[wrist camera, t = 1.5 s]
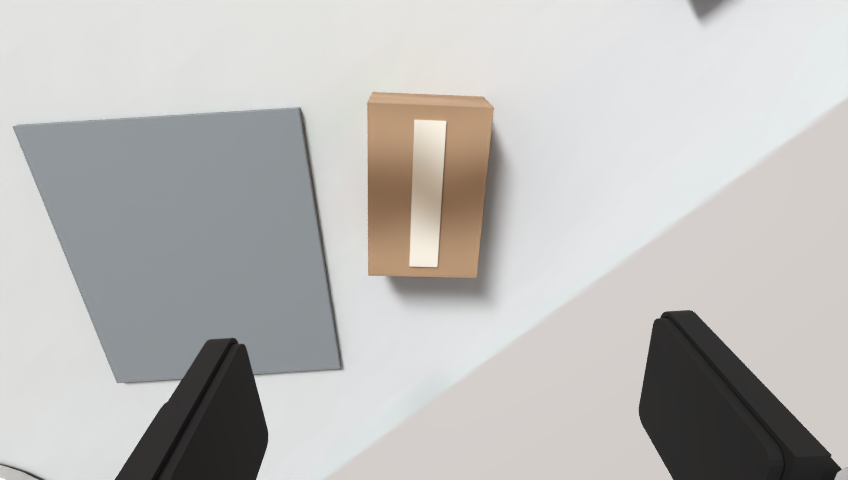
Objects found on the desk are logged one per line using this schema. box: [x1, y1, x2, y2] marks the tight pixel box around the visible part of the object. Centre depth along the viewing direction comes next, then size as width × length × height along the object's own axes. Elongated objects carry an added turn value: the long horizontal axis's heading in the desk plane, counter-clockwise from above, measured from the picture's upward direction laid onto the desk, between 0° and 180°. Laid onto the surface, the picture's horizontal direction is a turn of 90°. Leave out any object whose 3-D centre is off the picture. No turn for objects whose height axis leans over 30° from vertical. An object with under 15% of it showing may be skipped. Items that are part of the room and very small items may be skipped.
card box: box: [368, 92, 494, 278], centre depth 24 cm, size 8×6×4 cm, turn 178°
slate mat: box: [13, 107, 341, 383], centre depth 27 cm, size 16×14×1 cm
